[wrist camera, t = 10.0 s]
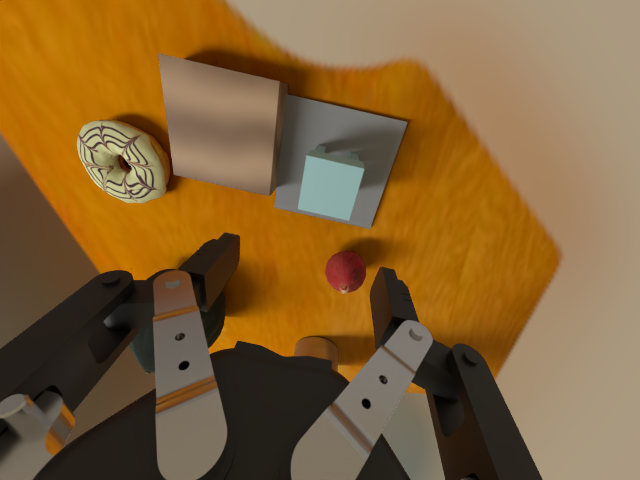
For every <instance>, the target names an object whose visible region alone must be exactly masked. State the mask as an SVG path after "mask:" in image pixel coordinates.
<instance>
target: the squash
mask: <svg viewBox="0 0 640 480" xmlns="http://www.w3.org/2000/svg"><path fill="white" fill-rule="evenodd" d="M174 270H176V269H166V270H162V271H159V272H157V273H155V274H154V275H152V276H151V277H149V278H148V279H147V280H155V279H156V278H157V277H158V276H159V275H161V274H163V273H165V272H168V271H174ZM199 311H200V310H199ZM200 315H201V320H202V324H203V329H204V333H205V337H206V342H207V346H208V348H209V347H211V346H212V345H213V343H214V342H215V341H216V339H217V338H218V337H219V335H220V333H221V331H222V329H223V326H224V320H225V296H224V294H223V292H222V291H221V292H220V294H219V295H218V297H217V298H216V300H215V301H214V303H213V304H212V306H211V307H210V309H209V310H208V312H205V311H200ZM129 346H130V349H131V350H132V352H133V354H134V356H135V358H136V360H137V361H138V363H139V364H140V366H141V367H142V368H143V369H144V370H145V373H147V374H150V373H152V372H155V356H154V334H153V328H148V329H141V330H140V331H139V332H138V334H137V335H136V336H135V337H134V339H133V340H132V341H131V342H130V343H129Z"/></svg>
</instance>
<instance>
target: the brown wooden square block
mask: <svg viewBox="0 0 640 480" xmlns="http://www.w3.org/2000/svg"><path fill="white" fill-rule="evenodd" d="M158 57H159V65H160V73H161V80H162V88H163V96H164V103H165V111H166V118H167V126H168V134H169V141H170V149H171V157H172V164H173V172H174V175H177V176H182V177H186V178H191V179H195V180H200V181H204V182H209V183H213V184H217V185H222V186H226V187H231V188H235V189H240V190H244V191H249V192H253V193H258V194H262V195H266V196H270V195H271V194H272V192H273V191H274V190H275V189H276V188H277V178H278V169H279V159H280V149H281V140H282V130H283V120H284V110H285V101H286V94H287V93H288V84H287V83H284V82H280V81H276V80H271V79H267V78H263V77H259V76H254V75H250V74H246V73H241V72H237V71H233V70H228V69H224V68H220V67H215V66H211V65H207V64H202V63H198V62H194V61H189V60H185V59H181V58H177V57H172V56H168V55H164V54H159V53H158Z"/></svg>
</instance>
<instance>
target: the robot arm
mask: <svg viewBox="0 0 640 480" xmlns="http://www.w3.org/2000/svg"><path fill="white" fill-rule="evenodd" d="M239 258H240V236H239V235H235V234H230V233H226V232H225V233H224V234H223V235H222V236H221V237H220V238H219V239H218V240H216V239H212V240H210V241H208V242H206V243H204V244H203V245H202V246H201V247H200V248H199V250H197V251H196V252H195V254H193V255H192V256H191V257H190V258H189V259H188V260H187V261H186V262H185V263H184V264H183V265H182V266H181V267H180V268H179V269H178V270H174V271H168V272H165V273H163V274H161V275H159V276H158V277H157V278H156V279H155V280H133V276H132V274H131V273H129V272H127V271H123V270H115V271H109V272H105V273H103V274H100V275H98V276H96V277H95V278H93V279H92V280H91V281H89V282H88V283H87V284H85V285H84V286H83V287H81V288H80V289H79V290H77V291H76V292H75V293H74V294H72V295H71V296H70V297H68V298H67V299H66V300H64V301H63V302H62V303H60V304H59V305H58V306H56V307H55V308H54V309H52V310H51V311H50V312H49V313H47V314H46V315H44V316H43V317H42V318H41V319H39V320H38V321H37V322H35V323H34V324H33V325H31V326H30V327H29V328H27V329H26V330H25V331H24V332H22V333H21V334H19V335H18V336H17V337H15V338H14V339H13V340H12V341H10V342H9V343H8V344H6V345H5V346H4V347H2V348H1V349H0V480H410V478H409V476H408V475H407V473H406V472H405V470H404V468H403V467H402V465H401V463H400V462H399V460H398V459H397V457H396V455H395V454H394V452H393V450H392V449H391V447H390V446H389V444H388V442H387V441H386V439H385V438H384V436H383V434H382V431H383V429H384V428H385V426H386V424H387V422H388V421H389V419H390V417H391V416H392V414H393V412H394V410H395V409H396V407H397V405H398V403H399V401H400V400H401V398H402V397H403V395H404V393H405V391H406V390H407V388H408V386H409V385H410V383H411V382H412V383H414V384H416V385H418V386H420V387H422V388H423V389H425V390H426V394H427V399H428V403H429V407H430V412H431V417H432V421H433V426H434V430H435V435H436V439H437V444H438V448H439V453H440V458H441V462H442V467H443V471H444V476H445V480H542V477H541V475H540V473H539V471H538V469H537V467H536V465H535V463H534V461H533V459H532V457H531V455H530V453H529V450H528V449H527V446H526V444H525V442H524V440H523V438H522V436H521V434H520V432H519V430H518V428H517V426H516V424H515V421H514V419H513V417H512V415H511V413H510V411H509V409H508V407H507V405H506V403H505V401H504V399H503V397H502V394H501V392H500V390H499V388H498V386H497V384H496V382H495V380H494V378H493V376H492V374H491V372H490V370H489V367H488V365H487V363H486V361H485V360H484V358H483V357H482V356H481V355H480V354H479V353H478V352H477V351H476V350H474V349H473V348H471V347H469V346H467V345H465V344H455V345H454V346H453V347H452V349H451V348H449V347H447V346H445V345H443V344H441V343H439V342H437V341H435V340H433V338H432V335H431V333H430V332H429V330H428V329H427V328H426V327H425V326H423V325H422V324H420V323H419V320H418V317H417V314H416V311H415V308H414V305H413V302H412V299H411V296H410V293H409V290H408V287H407V286H406V285H405V284H404V282H403V281H402V280H398V279H397V276H396V273H395V270H394V269H389V268H384V267H380V268H379V270H378V273H377V275H376V277H375V280H374V282H373V285H372V287H371V291H370V302H371V311H372V319H373V327H374V336H375V344H376V349H378V350H377V351H376V352H375V354H374V355H373V356H372V357H371V358H370V360H369V361H368V362H367V363H366V364H365V366H364V367H363V368H362V369H361V370H360V372H359V373H358V374H357V375H356V376H355V377H354V379H353V380H352V381H351V382H349V381H348V380H347V379H346V378H345V377H343V376H342V375H341V374H340V373H338V349H337V347H336V346H335V345H334V344H333V343H332V342H331V341H329V340H327V339H324V338H320V337H307V338H304V339H302V340H300V341H299V342H298V343H297V344H296V347H295V352H294V356H292V357H284V356H281V355H279V354H277V353H275V352H273V351H271V350H269V349H267V348H265V347H263V346H260V345H256V344H251V343H246V342H241V341H237V343H236V345H235V348H230V349H224V350H220V351H217V352H214V353H212V354H210V355H209V350H208V346H207V342H206V337H205V333H204V329H203V324H202V320H201V315H200V311H205V312H208V310H209V309H210V307H211V306H212V304H213V303H214V301H215V300H216V298H217V297H218V295H219V294H220V292H221V291H222V289H223V288H224V286H225V285H226V283H227V282H228V280H229V279H230V277H231V276H232V274H233V273H234V271H235V270H236V268H237V266H238V263H239ZM199 310H200V311H199ZM148 328H153V334H154V356H155V378H156V388H155V389H153V390H152V391H150V392H149V393H147V394H145V395H144V396H142V397H141V398H139V399H138V400H136V401H134V402H133V403H131V404H130V405H128V406H126V407H125V408H123V409H122V410H120V411H118V412H117V413H115V414H114V415H112V416H111V417H109V418H107V419H106V420H105V421H103V422H101V423H100V424H98V425H96V426H95V427H93V428H92V429H90V430H88V431H87V432H85V433H84V434H82V435H81V436H79V437H78V438H76V439H75V440H73V441H72V442H70V443H69V444H68V445H66V446H65V447H64V448H63V449H62V447H63V446H64V444H65V441H66V439H67V438H68V436H69V434H70V433H71V431H72V429H73V427H74V423H75V416H74V414H73V411H74V410H75V409H76V408H77V407H78V406H79V404H80V403H81V402H82V401H83V400H84V398H85V397H86V396H87V395H88V393H89V392H90V391H91V390H92V389H93V387H94V386H95V385H96V384H97V382H98V381H99V380H100V379H101V378H102V376H103V375H104V374H105V373H106V371H107V370H108V369H109V368H110V367H111V365H112V364H113V363H114V362H115V360H116V359H117V358H118V357H119V356H120V354H121V353H122V352H123V351H124V350H125V348H126V347H127V346H128V345H129V343H130V342H131V341H132V340H133V339H134V337H135V336H136V335H137V334H138V332H139V331H140V330H141V329H148Z"/></svg>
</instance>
